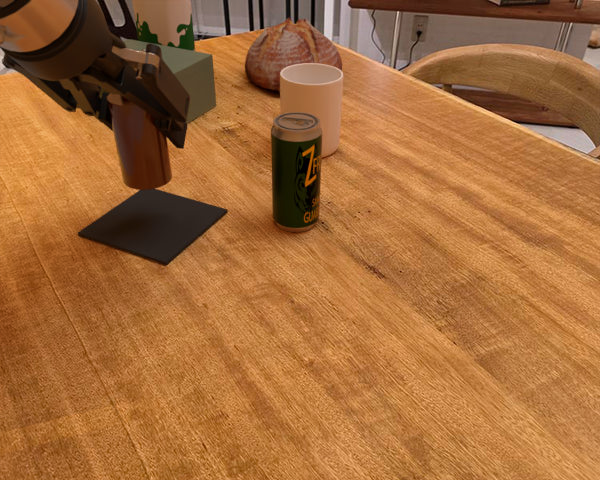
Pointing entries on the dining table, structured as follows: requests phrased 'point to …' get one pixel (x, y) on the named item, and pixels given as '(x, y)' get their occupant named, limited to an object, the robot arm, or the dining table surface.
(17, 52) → the robot arm
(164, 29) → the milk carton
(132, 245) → the mat
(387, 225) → the dining table surface
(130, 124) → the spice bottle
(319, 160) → the beer can
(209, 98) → the shelf
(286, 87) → the mug
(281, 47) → the bread
